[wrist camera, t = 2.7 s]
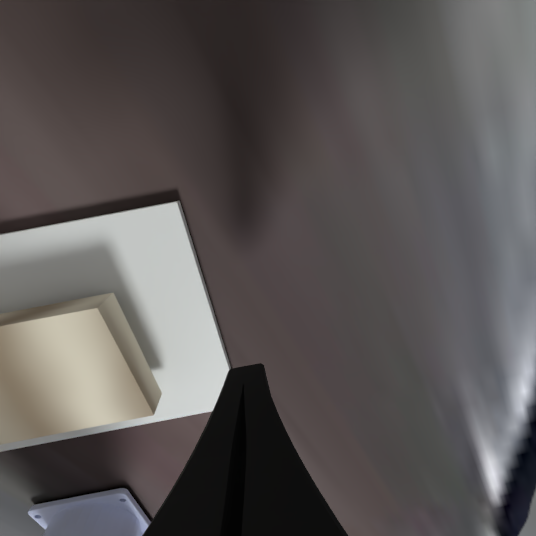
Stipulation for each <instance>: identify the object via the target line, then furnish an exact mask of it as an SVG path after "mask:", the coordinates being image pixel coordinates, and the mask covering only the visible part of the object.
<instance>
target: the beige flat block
mask: <svg viewBox="0 0 536 536" xmlns="http://www.w3.org/2000/svg"><path fill="white" fill-rule="evenodd" d="M161 395H162V392H161V390H160V388H159V386H158V384H157V382H156V380H155V378H154V376H153V374H152V372H151V369H150V367H149V365H148V363H147V361H146V359H145V357H144V355H143V353H142V351H141V349H140V347H139V345H138V342H137V340H136V338H135V336H134V334H133V332H132V330H131V328H130V326H129V324H128V322H127V320H126V318H125V316H124V313H123V311H122V309H121V307H120V305H119V303H118V301H117V299H116V297H115V295H114V293H108V294H103V295H97V296H92V297H87V298H82V299H76V300H71V301H66V302H60V303H55V304H50V305H45V306H39V307H34V308H29V309H23V310H18V311H13V312H8V313H2V314H0V445H1V444H7V443H12V442H17V441H22V440H27V439H33V438H38V437H43V436H48V435H53V434H59V433H64V432H69V431H74V430H80V429H85V428H90V427H95V426H100V425H106V424H111V423H116V422H121V421H126V420H132V419H137V418H142V417H147V416H153V415H154V414H155V411H156V408H157V406H158V403H159V400H160V398H161Z"/></svg>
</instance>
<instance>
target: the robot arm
mask: <svg viewBox="0 0 536 536" xmlns="http://www.w3.org/2000/svg"><path fill="white" fill-rule="evenodd" d="M28 514H29V515H30V516H31V517H32V518H33V519H34V520H35V521H36V522H37V523H39V524H40V525H41V526H42V527H43V528H44V529H45V532H44V534H43V535H42V536H348V535H347V533H346V532H345V530H344V529H343V527H342V526H341V524H340V523H339V521H338V520H337V518H336V517H335V515H334V513H333V512H332V510H331V509H330V507H329V505H328V504H327V502H326V501H325V499H324V498H323V496H322V494H321V493H320V491H319V490H318V488H317V486H316V485H315V483H314V481H313V480H312V478H311V476H310V474H309V473H308V471H307V469H306V468H305V466H304V464H303V462H302V460H301V459H300V457H299V455H298V453H297V451H296V449H295V448H294V446H293V444H292V442H291V440H290V438H289V436H288V434H287V432H286V430H285V428H284V425H283V423H282V421H281V419H280V417H279V414H278V412H277V410H276V407H275V405H274V402H273V400H272V397H271V394H270V390H269V385H268V381H267V377H266V373H265V368H264V365H263V364H261V363H260V364H254V365H249V366H244V367H238V368H233V369H230V370H229V371H228V373H227V376H226V379H225V382H224V385H223V387H222V390H221V392H220V395H219V397H218V400H217V402H216V405H215V407H214V409H213V411H212V413H211V416H210V418H209V420H208V422H207V425H206V427H205V429H204V431H203V433H202V435H201V437H200V439H199V441H198V443H197V445H196V447H195V449H194V451H193V453H192V455H191V456H190V458H189V460H188V462H187V464H186V466H185V467H184V469H183V471H182V473H181V474H180V476H179V478H178V480H177V481H176V483H175V485H174V486H173V488H172V490H171V491H170V493H169V495H168V496H167V498H166V499H165V501H164V503H163V504H162V506H161V507H160V509H159V511H158V512H157V514H156V515H155V517H154V519H153V520H152V522H150V520H149V519H148V517H147V516H146V515H145V513H144V512H143V510H142V509H141V508H140V506H139V505H138V504H137V502H136V501H135V499H134V498H133V497H132V495H131V494H130V492H129V491H128V490H127V489H125V488H118V489H113V490H108V491H103V492H98V493H92V494H87V495H82V496H77V497H72V498H66V499H61V500H56V501H51V502H46V503H41V504H35V505H33V506H32V507H31V508H30V510H29V511H28Z"/></svg>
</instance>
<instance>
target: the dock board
mask: <svg viewBox="0 0 536 536" xmlns="http://www.w3.org/2000/svg"><path fill="white" fill-rule="evenodd" d="M108 293H114V295H115V297H116V299H117V301H118V303H119V305H120V307H121V309H122V311H123V313H124V316H125V318H126V320H127V322H128V324H129V326H130V328H131V330H132V332H133V334H134V336H135V338H136V340H137V342H138V345H139V347H140V349H141V351H142V353H143V355H144V357H145V359H146V361H147V363H148V365H149V367H150V369H151V372H152V374H153V376H154V378H155V380H156V382H157V384H158V386H159V388H160V390H161V392H162V395H161V398H160V400H159V403H158V406H157V408H156V411H155V414H154V415H153V416H147V417H142V418H137V419H132V420H126V421H121V422H116V423H111V424H106V425H100V426H95V427H90V428H85V429H80V430H74V431H69V432H64V433H59V434H53V435H48V436H43V437H38V438H33V439H27V440H22V441H17V442H12V443H7V444H1V445H0V452H2V451H7V450H12V449H17V448H23V447H28V446H33V445H38V444H43V443H49V442H54V441H59V440H64V439H70V438H75V437H80V436H85V435H90V434H96V433H101V432H106V431H111V430H116V429H122V428H127V427H132V426H137V425H142V424H148V423H153V422H158V421H163V420H169V419H174V418H179V417H184V416H189V415H195V414H200V413H205V412H210V411H213V409H214V407H215V405H216V402H217V400H218V397H219V395H220V392H221V390H222V387H223V385H224V382H225V379H226V376H227V373H228V371H229V370H230V369H231V366H230V363H229V360H228V356H227V353H226V350H225V347H224V343H223V340H222V337H221V334H220V330H219V327H218V324H217V321H216V317H215V314H214V311H213V308H212V304H211V301H210V298H209V295H208V291H207V288H206V285H205V282H204V278H203V275H202V272H201V268H200V265H199V262H198V259H197V255H196V252H195V249H194V246H193V242H192V239H191V236H190V233H189V229H188V226H187V223H186V220H185V216H184V213H183V210H182V207H181V203H180V200H179V201H174V202H169V203H163V204H158V205H153V206H147V207H142V208H137V209H131V210H126V211H121V212H115V213H110V214H105V215H100V216H94V217H89V218H84V219H78V220H73V221H68V222H62V223H57V224H52V225H46V226H41V227H36V228H30V229H25V230H20V231H14V232H9V233H4V234H0V314H2V313H8V312H13V311H18V310H23V309H29V308H34V307H39V306H45V305H50V304H55V303H60V302H66V301H71V300H76V299H82V298H87V297H92V296H97V295H103V294H108Z"/></svg>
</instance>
